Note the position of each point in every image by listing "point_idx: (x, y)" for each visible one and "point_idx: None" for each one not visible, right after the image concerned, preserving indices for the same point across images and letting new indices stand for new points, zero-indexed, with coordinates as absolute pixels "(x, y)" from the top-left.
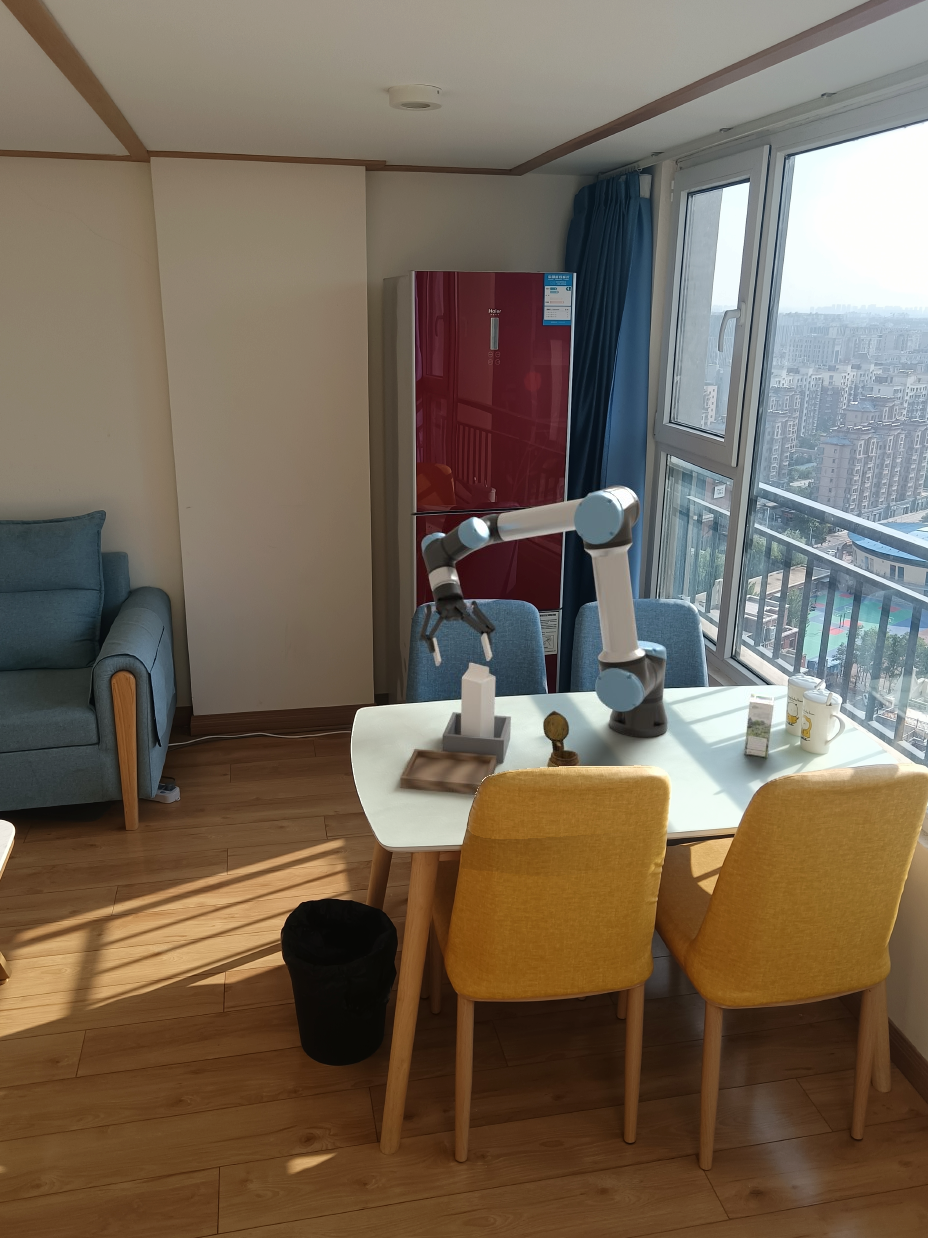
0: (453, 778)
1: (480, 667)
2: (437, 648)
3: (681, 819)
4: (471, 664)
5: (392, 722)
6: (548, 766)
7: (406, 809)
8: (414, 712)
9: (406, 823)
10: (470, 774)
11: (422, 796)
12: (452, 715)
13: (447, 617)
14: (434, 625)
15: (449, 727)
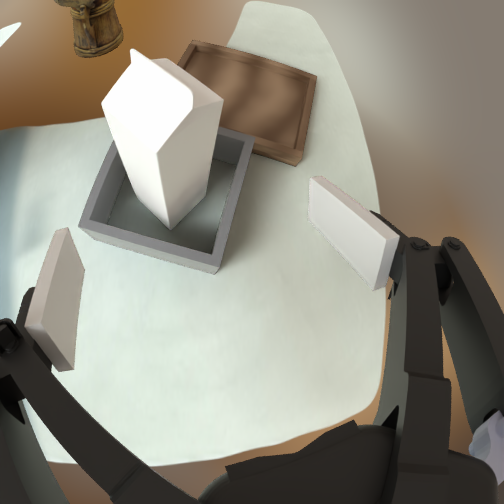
0: (235, 78)
1: (154, 68)
2: (350, 206)
3: (14, 30)
4: (185, 89)
5: (337, 341)
6: (113, 2)
7: (299, 45)
8: (292, 397)
9: (296, 26)
10: (206, 85)
11: (280, 62)
12: (222, 244)
13: (369, 426)
14: (438, 305)
15: (236, 172)
